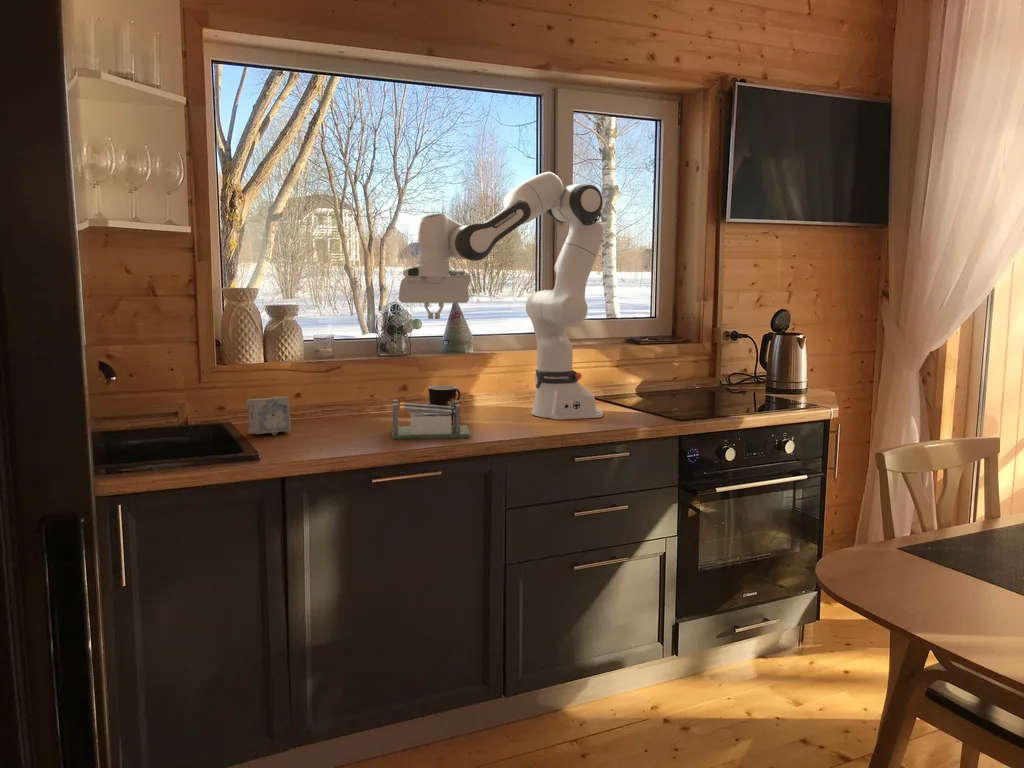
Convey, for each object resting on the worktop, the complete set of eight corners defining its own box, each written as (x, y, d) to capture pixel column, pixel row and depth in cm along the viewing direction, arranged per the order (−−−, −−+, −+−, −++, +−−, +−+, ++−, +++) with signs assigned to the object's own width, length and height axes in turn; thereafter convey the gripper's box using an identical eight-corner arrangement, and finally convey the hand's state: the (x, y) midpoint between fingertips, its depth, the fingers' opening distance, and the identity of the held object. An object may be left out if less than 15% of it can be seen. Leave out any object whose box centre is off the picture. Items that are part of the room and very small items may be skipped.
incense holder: (280, 429, 231) (279, 393, 230) (292, 434, 225) (290, 397, 223) (246, 433, 225) (244, 396, 224) (257, 438, 219) (255, 400, 217)
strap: (451, 412, 225) (451, 409, 225) (451, 414, 222) (452, 411, 222) (399, 408, 223) (399, 405, 223) (399, 410, 220) (399, 407, 220)
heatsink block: (466, 428, 234) (466, 397, 233) (469, 437, 222) (469, 405, 221) (393, 429, 231) (392, 398, 230) (392, 438, 220) (391, 406, 218)
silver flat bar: (450, 408, 231) (450, 405, 231) (450, 410, 228) (451, 407, 228) (400, 404, 229) (400, 402, 229) (399, 406, 226) (400, 404, 226)
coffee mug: (434, 423, 241) (434, 390, 239) (424, 418, 248) (423, 386, 247) (470, 420, 246) (470, 388, 244) (459, 415, 253) (459, 384, 252)
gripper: (469, 270, 238) (468, 318, 240) (398, 270, 236) (399, 317, 238) (470, 271, 232) (470, 319, 234) (398, 270, 230) (398, 319, 232)
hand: (434, 318), depth 236 cm, fingers closed
